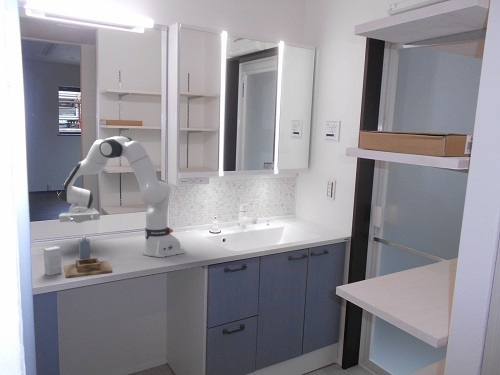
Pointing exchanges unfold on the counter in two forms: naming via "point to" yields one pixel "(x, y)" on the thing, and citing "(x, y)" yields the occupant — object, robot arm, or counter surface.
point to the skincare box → (52, 260)
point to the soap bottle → (84, 248)
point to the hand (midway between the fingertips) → (81, 219)
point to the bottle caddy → (87, 267)
